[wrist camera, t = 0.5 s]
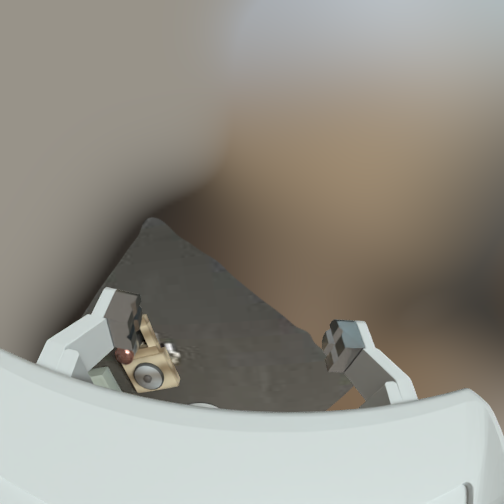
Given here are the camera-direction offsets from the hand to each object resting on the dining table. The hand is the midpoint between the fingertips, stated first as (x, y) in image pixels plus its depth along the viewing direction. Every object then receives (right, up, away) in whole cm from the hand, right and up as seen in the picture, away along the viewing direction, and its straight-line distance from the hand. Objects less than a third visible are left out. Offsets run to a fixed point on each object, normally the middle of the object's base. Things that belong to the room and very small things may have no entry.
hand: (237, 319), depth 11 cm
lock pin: (-28, -18, +52) cm, 62 cm away
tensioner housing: (-27, -23, +53) cm, 63 cm away
